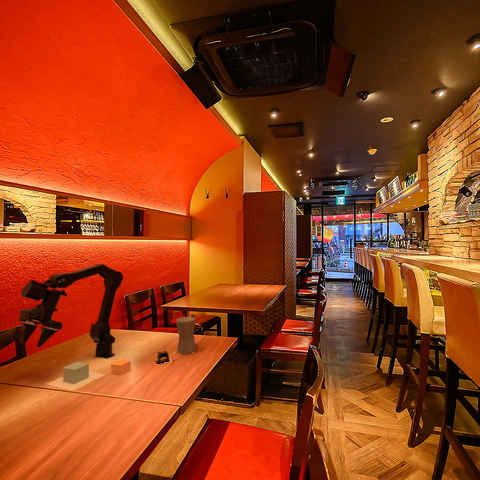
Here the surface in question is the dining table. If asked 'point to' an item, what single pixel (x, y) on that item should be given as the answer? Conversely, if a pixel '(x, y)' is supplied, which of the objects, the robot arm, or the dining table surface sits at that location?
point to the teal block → (75, 372)
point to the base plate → (71, 386)
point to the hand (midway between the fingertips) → (30, 344)
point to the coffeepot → (186, 334)
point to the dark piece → (162, 355)
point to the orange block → (120, 367)
